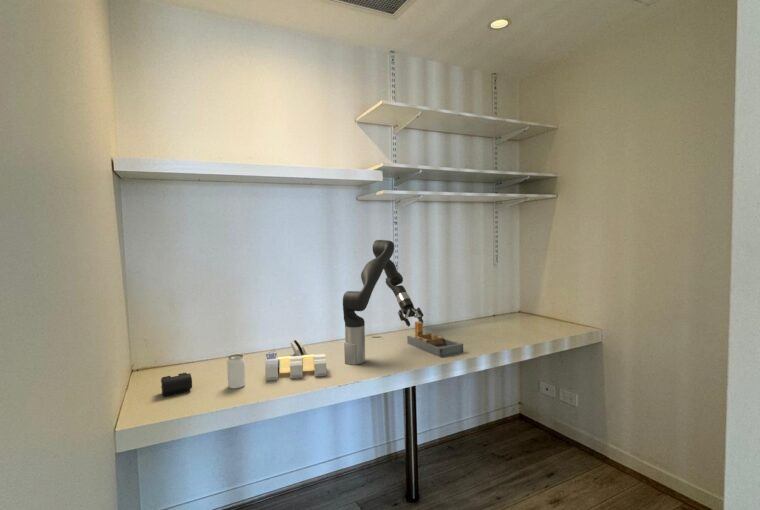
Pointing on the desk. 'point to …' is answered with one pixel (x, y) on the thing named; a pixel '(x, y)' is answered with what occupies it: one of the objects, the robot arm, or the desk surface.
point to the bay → (437, 347)
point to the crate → (427, 335)
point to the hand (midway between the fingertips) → (415, 324)
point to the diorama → (294, 365)
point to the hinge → (298, 348)
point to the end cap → (176, 384)
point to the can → (236, 371)
